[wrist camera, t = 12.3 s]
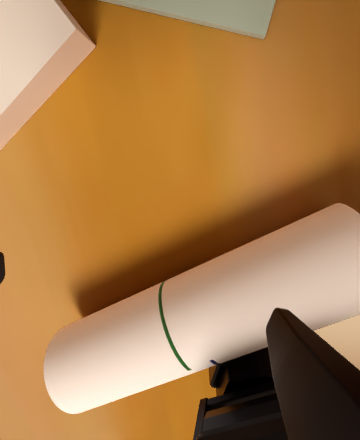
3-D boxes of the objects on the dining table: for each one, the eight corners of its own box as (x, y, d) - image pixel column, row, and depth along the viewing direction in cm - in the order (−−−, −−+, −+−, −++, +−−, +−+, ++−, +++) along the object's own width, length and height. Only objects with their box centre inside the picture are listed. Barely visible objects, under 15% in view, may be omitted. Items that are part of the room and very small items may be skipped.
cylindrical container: (103, 413, 22) (394, 313, 17) (35, 414, 17) (419, 273, 12) (104, 332, 27) (331, 236, 22) (51, 315, 22) (330, 183, 17)
